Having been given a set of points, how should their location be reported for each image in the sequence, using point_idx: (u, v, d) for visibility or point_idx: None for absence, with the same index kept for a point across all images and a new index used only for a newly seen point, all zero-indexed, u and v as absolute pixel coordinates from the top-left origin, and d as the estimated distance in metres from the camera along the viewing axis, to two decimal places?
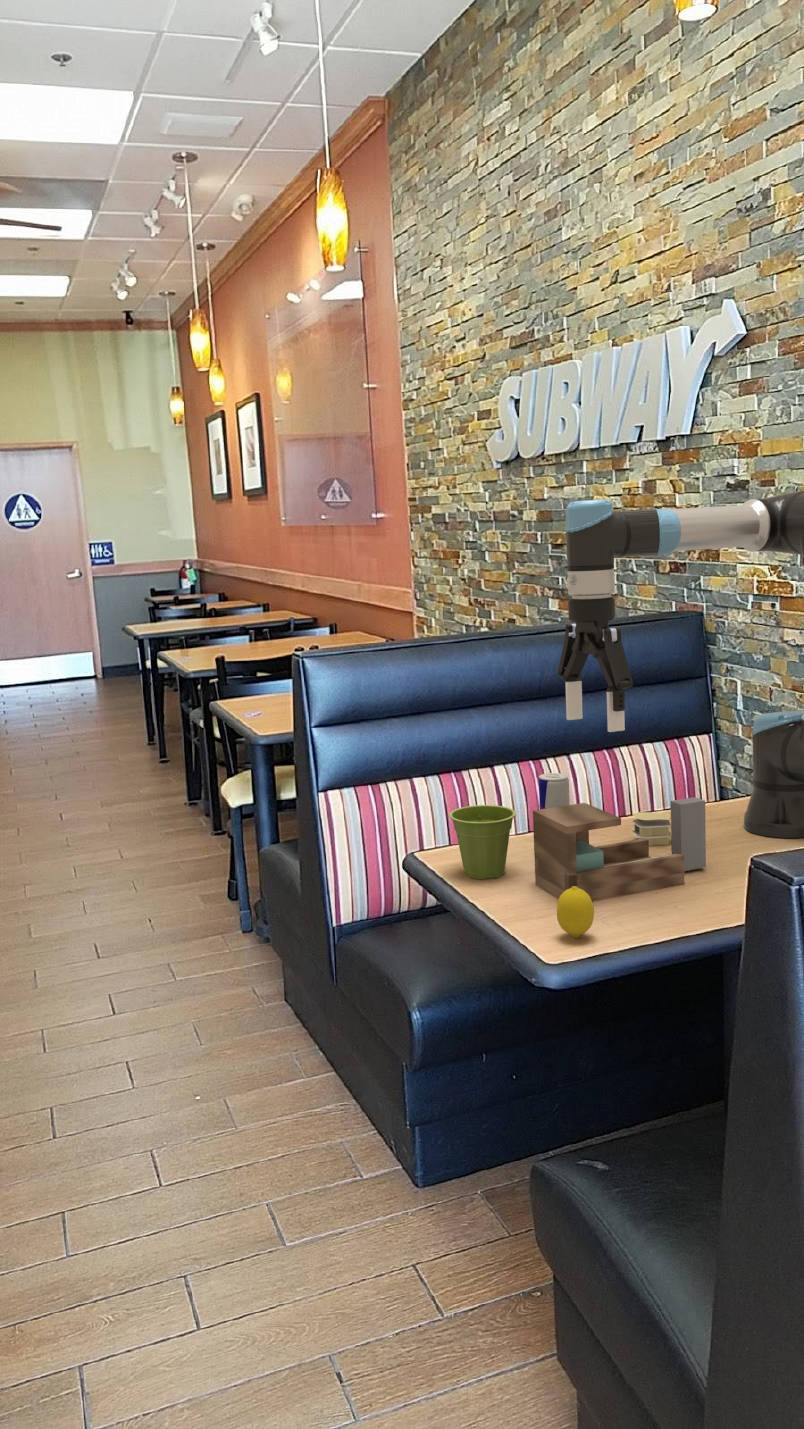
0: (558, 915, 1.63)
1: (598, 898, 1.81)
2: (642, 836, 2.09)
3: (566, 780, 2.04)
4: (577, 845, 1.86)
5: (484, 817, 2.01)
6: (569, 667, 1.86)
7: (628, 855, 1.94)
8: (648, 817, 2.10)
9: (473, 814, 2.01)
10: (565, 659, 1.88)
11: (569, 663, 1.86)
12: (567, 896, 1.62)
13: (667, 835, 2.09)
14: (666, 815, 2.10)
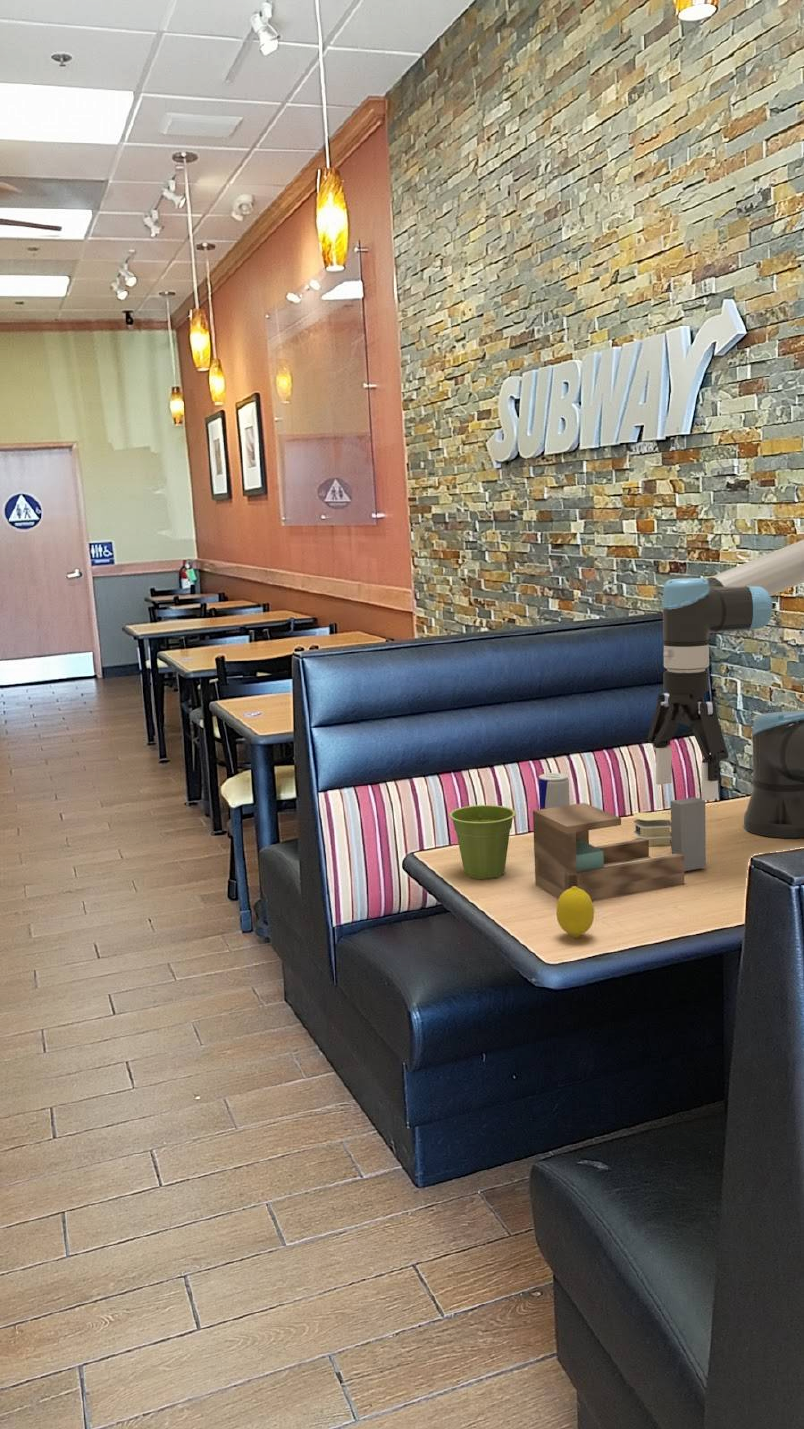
0: (558, 915, 1.63)
1: (598, 898, 1.81)
2: (643, 836, 2.09)
3: (566, 780, 2.04)
4: (577, 845, 1.86)
5: (484, 817, 2.01)
6: (660, 734, 1.94)
7: (628, 855, 1.94)
8: (649, 817, 2.09)
9: (473, 814, 2.01)
10: (656, 726, 1.96)
11: (661, 731, 1.94)
12: (567, 896, 1.62)
13: (668, 835, 2.08)
14: (667, 815, 2.10)
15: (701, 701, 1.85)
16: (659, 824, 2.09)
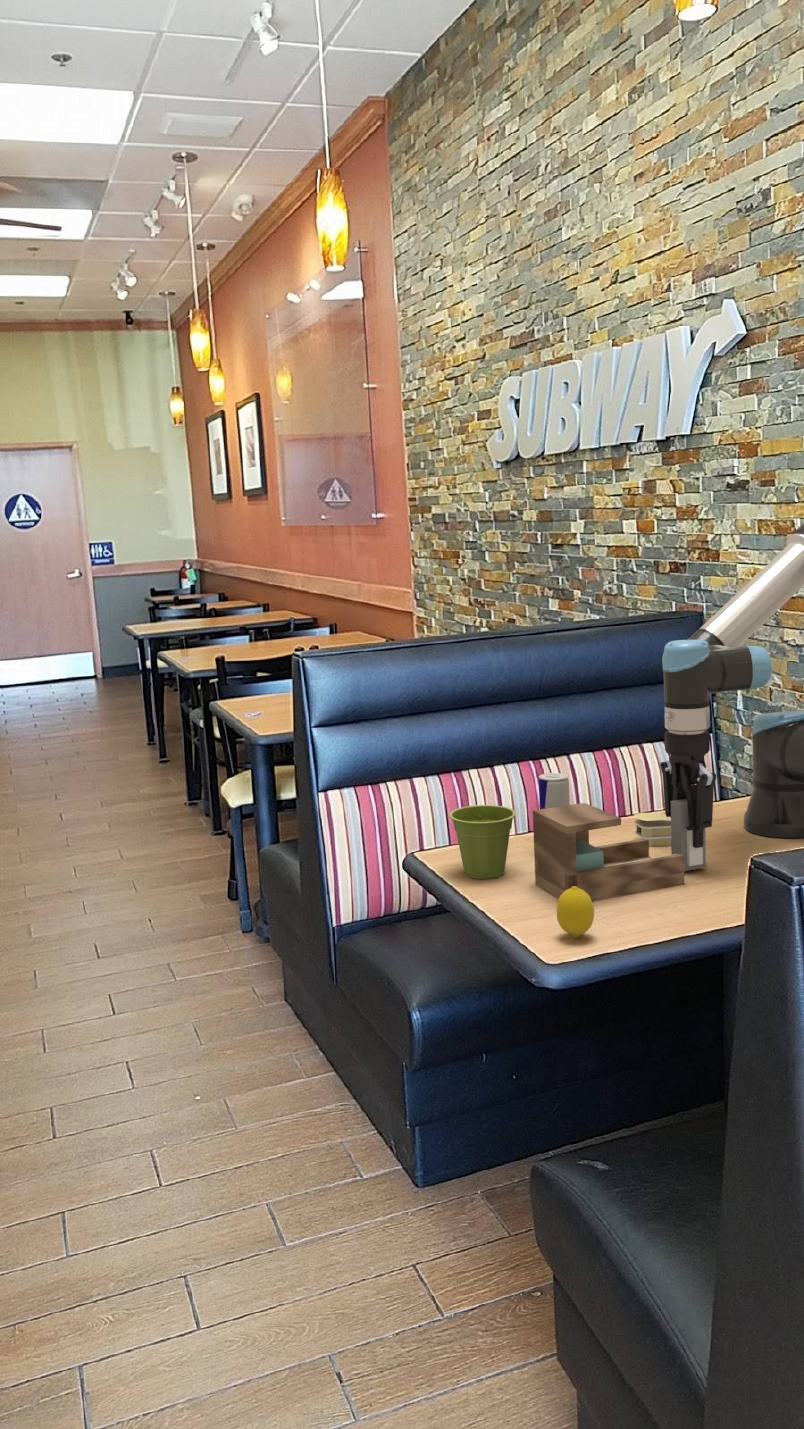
0: (558, 915, 1.63)
1: (598, 898, 1.81)
2: (644, 837, 2.08)
3: (566, 780, 2.04)
4: (577, 845, 1.86)
5: (484, 817, 2.01)
6: None
7: (628, 855, 1.94)
8: (650, 818, 2.09)
9: (473, 814, 2.01)
10: (669, 796, 1.95)
11: None
12: (567, 896, 1.62)
13: (669, 836, 2.08)
14: None
15: (703, 765, 1.87)
16: (660, 824, 2.09)
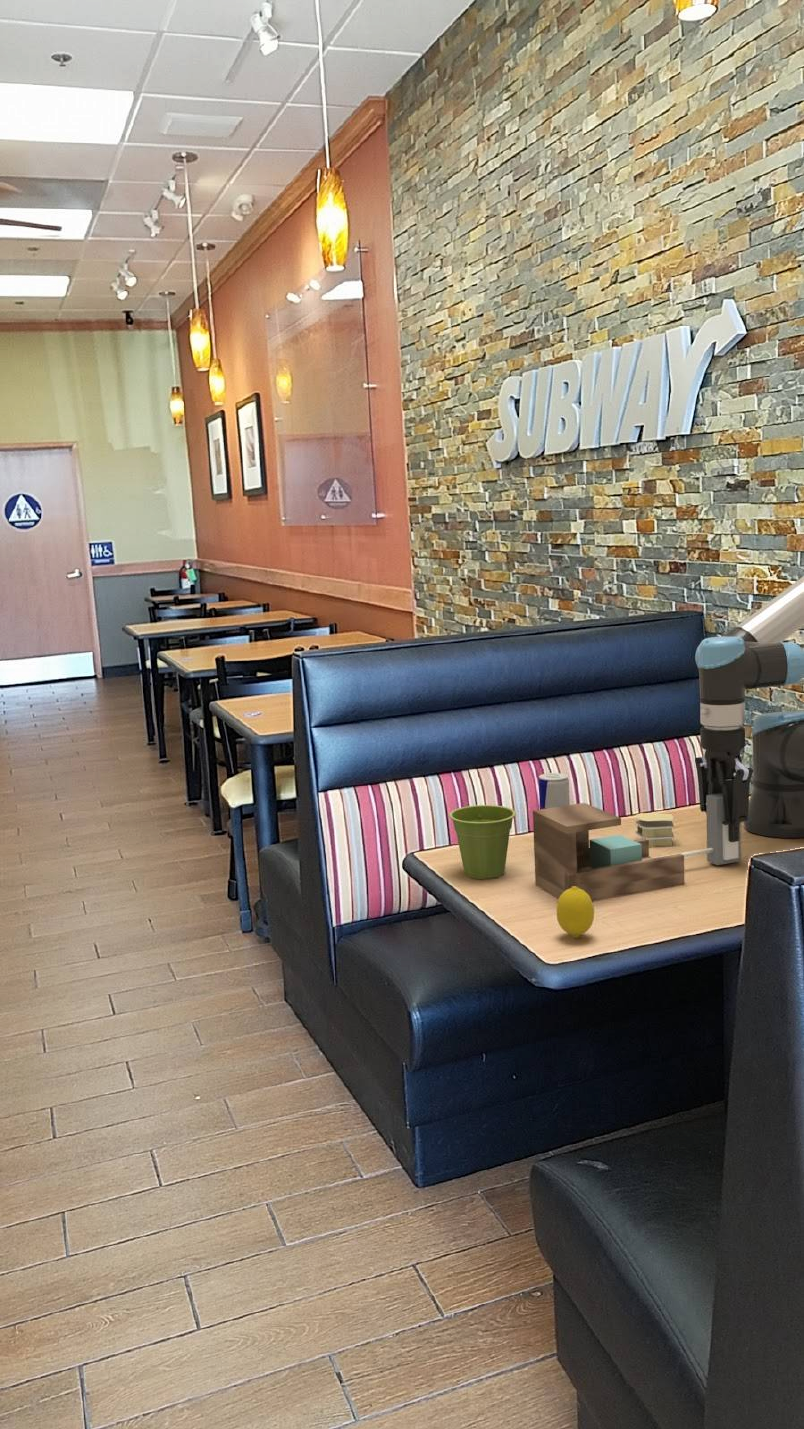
0: (558, 915, 1.63)
1: (598, 898, 1.81)
2: (645, 837, 2.08)
3: (566, 780, 2.04)
4: (615, 839, 1.89)
5: (484, 817, 2.01)
6: None
7: None
8: (651, 818, 2.09)
9: (473, 814, 2.01)
10: (704, 791, 1.97)
11: None
12: (567, 896, 1.62)
13: (670, 836, 2.08)
14: (669, 816, 2.09)
15: (739, 760, 1.89)
16: (661, 825, 2.09)
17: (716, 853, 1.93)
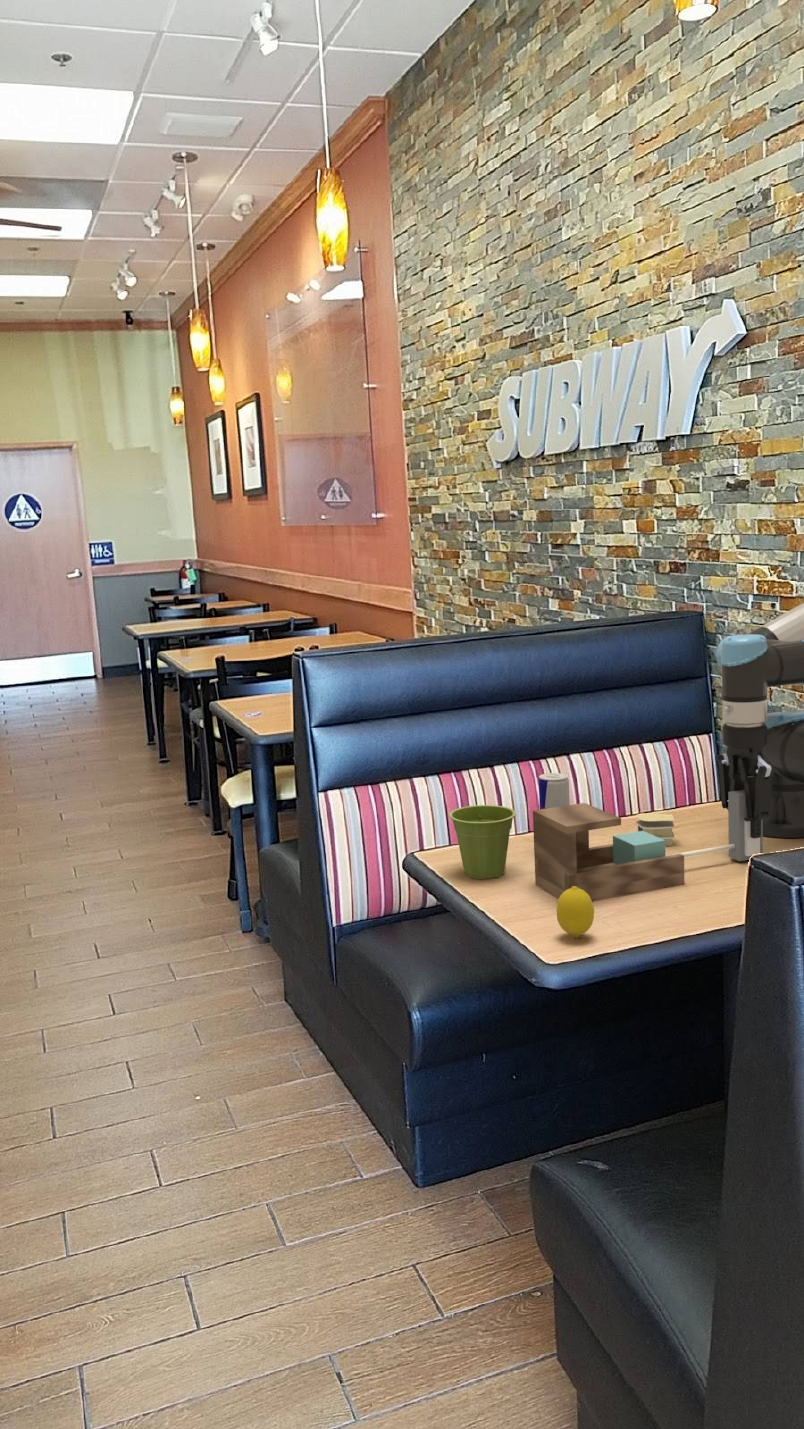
0: (558, 915, 1.63)
1: (598, 898, 1.81)
2: None
3: (566, 780, 2.04)
4: (638, 835, 1.90)
5: (484, 817, 2.01)
6: None
7: None
8: (651, 818, 2.09)
9: (473, 814, 2.01)
10: (725, 788, 1.99)
11: None
12: (567, 896, 1.62)
13: (670, 836, 2.08)
14: (670, 816, 2.09)
15: (761, 757, 1.91)
16: (661, 825, 2.08)
17: (738, 849, 1.95)
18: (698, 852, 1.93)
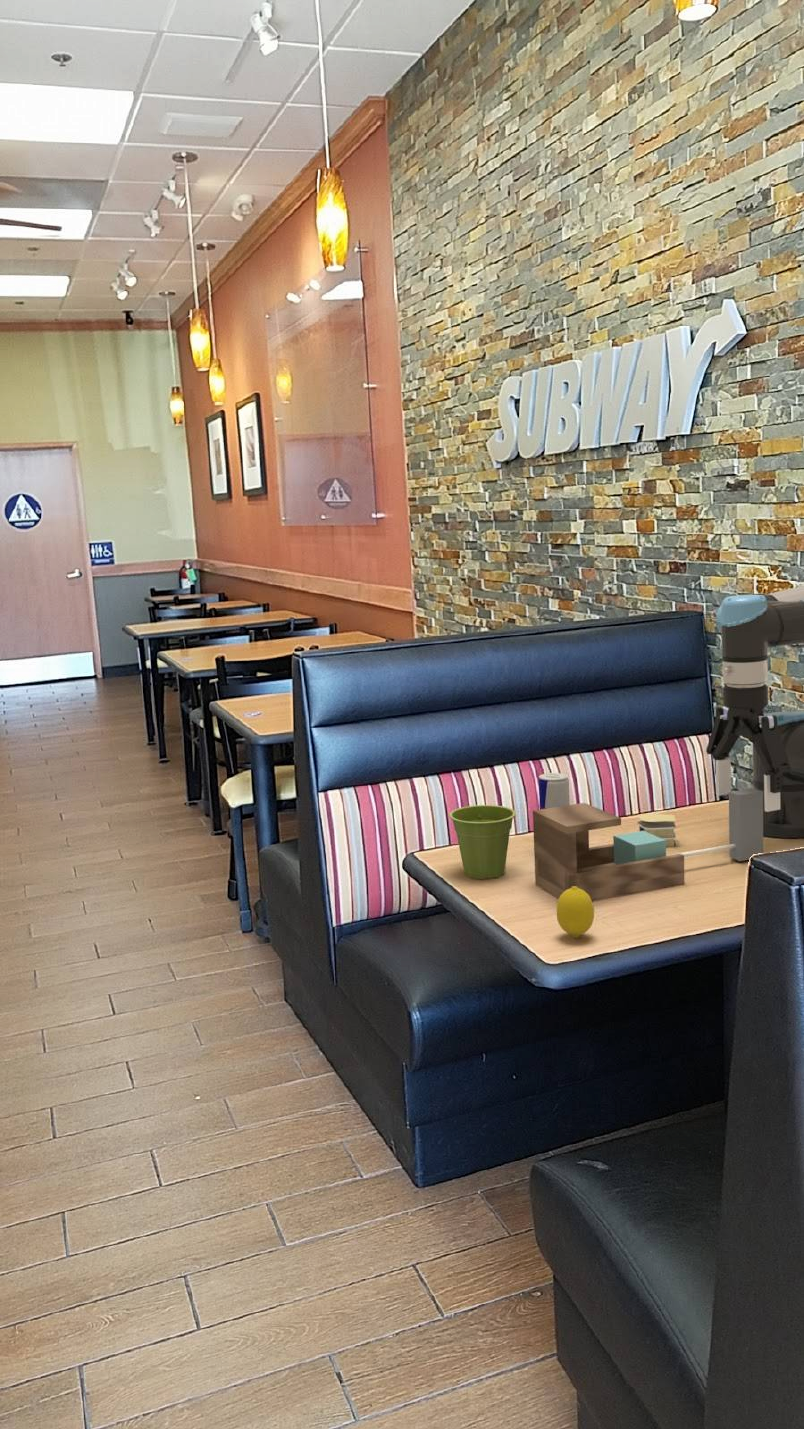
0: (558, 915, 1.63)
1: (598, 898, 1.81)
2: None
3: (566, 780, 2.04)
4: (639, 835, 1.90)
5: (484, 817, 2.01)
6: (720, 747, 1.99)
7: None
8: (653, 819, 2.08)
9: (473, 814, 2.01)
10: (715, 739, 2.01)
11: (720, 743, 1.99)
12: (567, 896, 1.62)
13: (672, 837, 2.07)
14: (671, 817, 2.09)
15: (761, 715, 1.90)
16: (663, 825, 2.08)
17: (738, 849, 1.95)
18: (699, 852, 1.93)
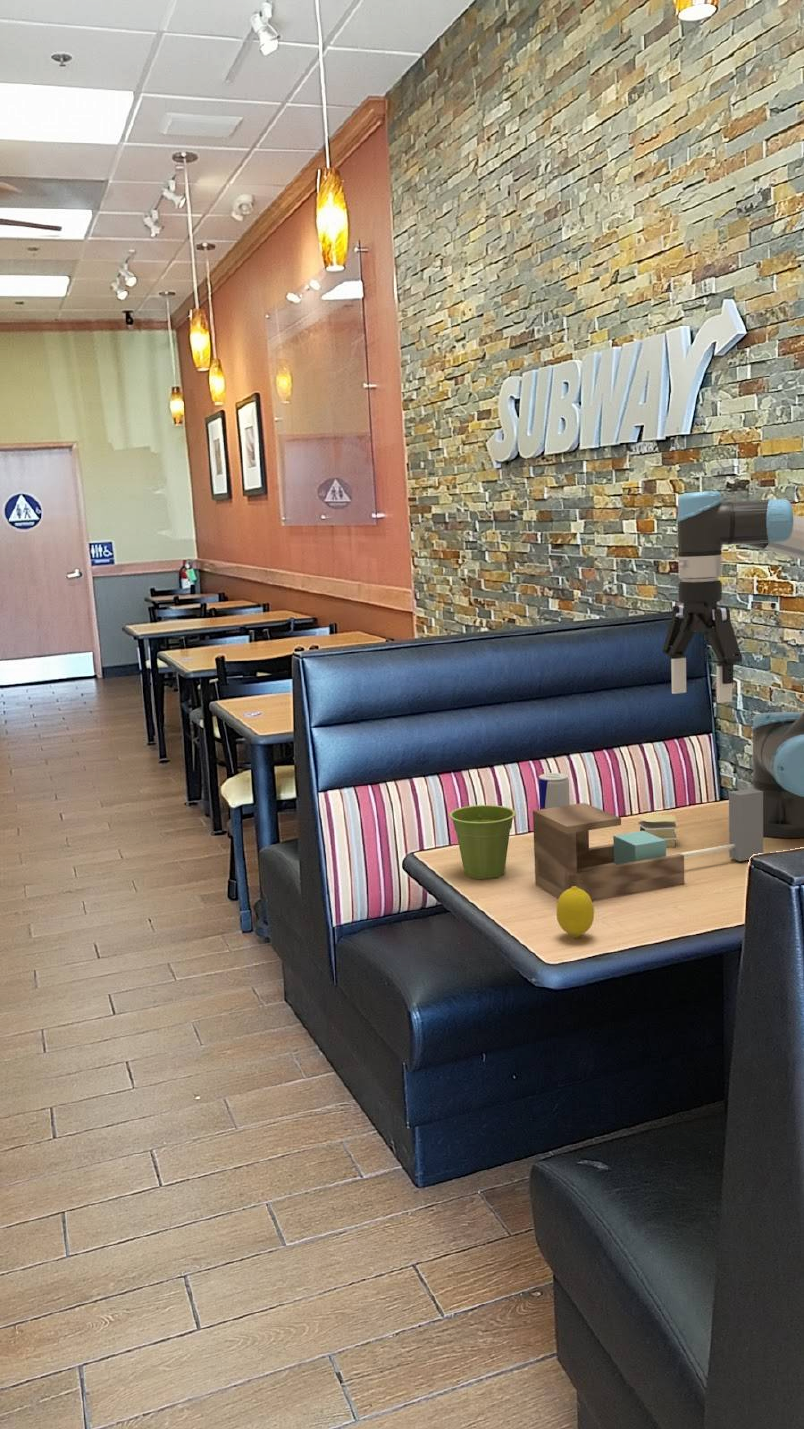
0: (558, 915, 1.63)
1: (598, 898, 1.81)
2: None
3: (566, 780, 2.04)
4: (639, 835, 1.90)
5: (484, 817, 2.01)
6: (675, 645, 2.03)
7: None
8: (654, 819, 2.08)
9: (473, 814, 2.01)
10: (671, 638, 2.05)
11: (676, 641, 2.03)
12: (567, 896, 1.62)
13: (673, 837, 2.07)
14: (672, 817, 2.09)
15: (715, 609, 1.94)
16: (664, 826, 2.08)
17: (738, 849, 1.95)
18: (699, 852, 1.93)
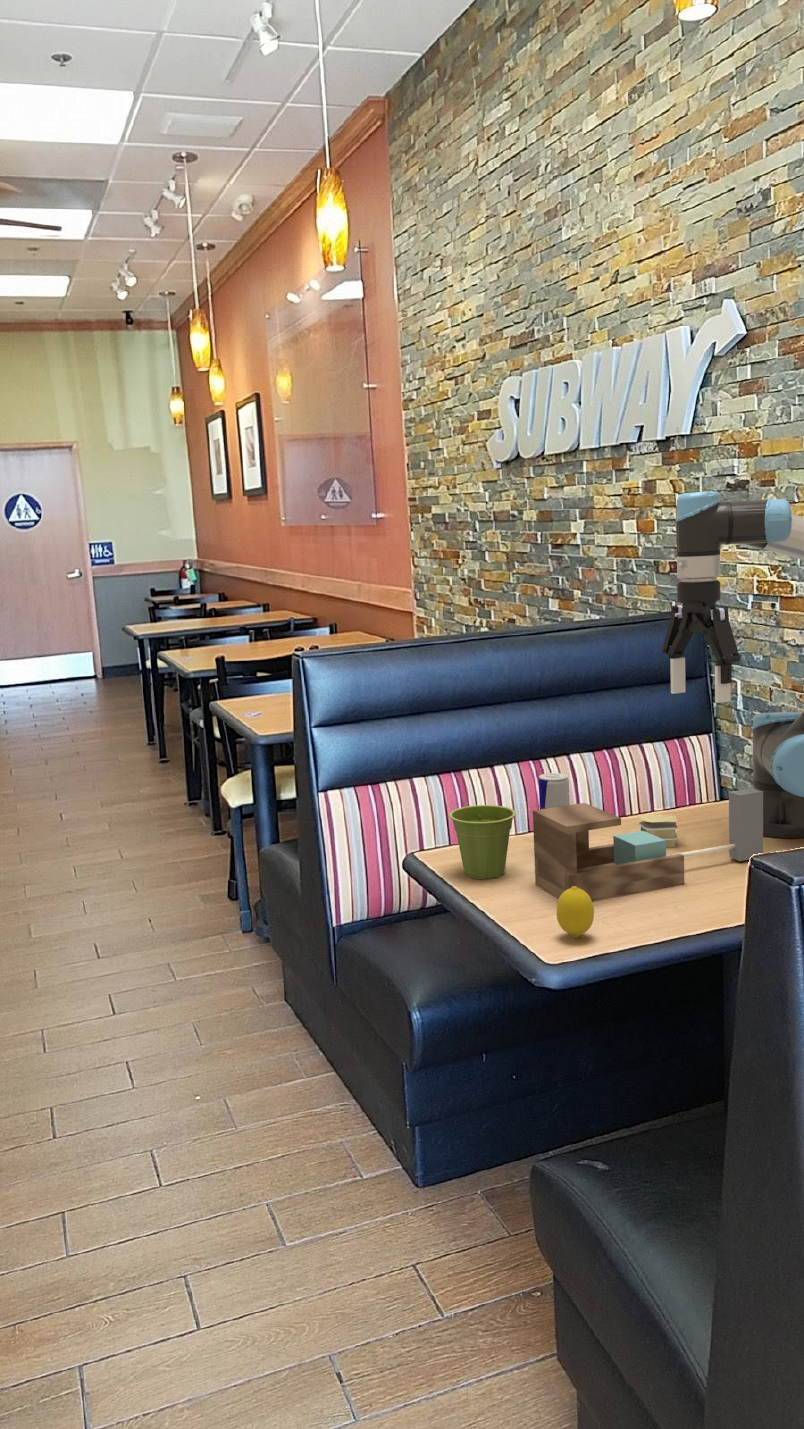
0: (558, 915, 1.63)
1: (598, 898, 1.81)
2: None
3: (566, 780, 2.04)
4: (639, 835, 1.90)
5: (484, 817, 2.01)
6: (675, 645, 2.04)
7: None
8: (654, 819, 2.08)
9: (473, 814, 2.01)
10: (670, 638, 2.05)
11: (675, 641, 2.03)
12: (567, 896, 1.62)
13: (673, 837, 2.07)
14: (673, 817, 2.09)
15: (713, 608, 1.94)
16: (664, 826, 2.08)
17: (738, 849, 1.95)
18: (699, 852, 1.93)
